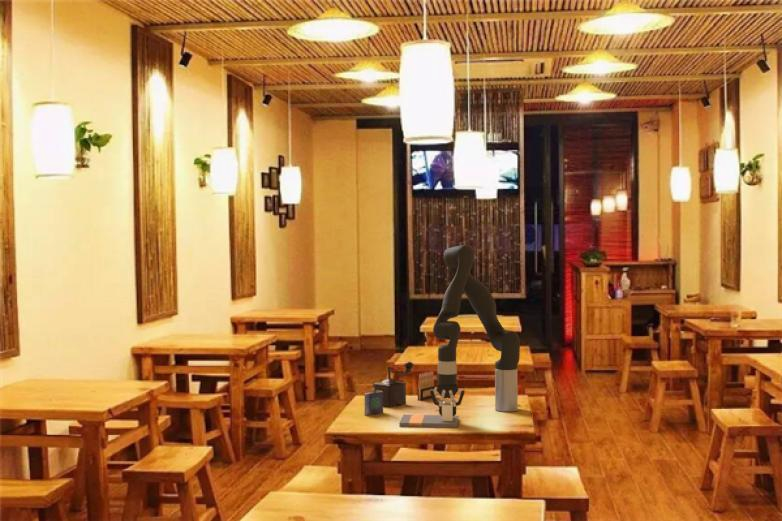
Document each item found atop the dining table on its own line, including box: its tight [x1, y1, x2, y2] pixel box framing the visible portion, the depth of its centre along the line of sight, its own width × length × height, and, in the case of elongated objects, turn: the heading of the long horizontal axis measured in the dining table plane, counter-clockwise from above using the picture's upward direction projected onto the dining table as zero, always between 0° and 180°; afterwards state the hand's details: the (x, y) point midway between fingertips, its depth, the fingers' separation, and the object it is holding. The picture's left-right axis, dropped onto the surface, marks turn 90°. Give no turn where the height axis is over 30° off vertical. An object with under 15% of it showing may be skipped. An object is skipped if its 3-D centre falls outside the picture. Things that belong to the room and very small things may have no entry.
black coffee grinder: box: [372, 361, 414, 409], centre depth 404 cm, size 16×11×18 cm
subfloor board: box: [398, 414, 460, 429], centre depth 365 cm, size 22×15×2 cm
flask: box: [363, 387, 384, 417], centre depth 383 cm, size 9×3×11 cm, turn 129°
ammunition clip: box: [417, 370, 436, 402], centre depth 414 cm, size 11×2×12 cm, turn 142°
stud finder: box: [442, 401, 453, 421], centre depth 364 cm, size 4×8×6 cm, turn 174°
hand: (447, 415), depth 364 cm, fingers closed on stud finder, 4 cm apart
